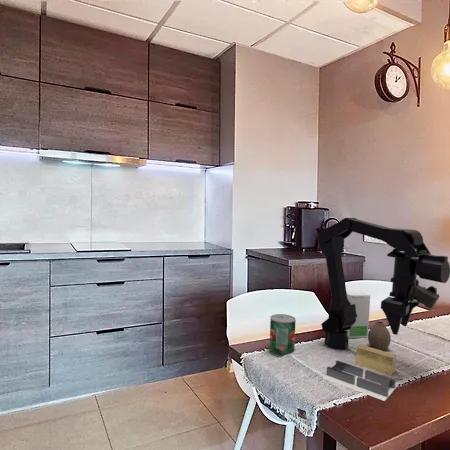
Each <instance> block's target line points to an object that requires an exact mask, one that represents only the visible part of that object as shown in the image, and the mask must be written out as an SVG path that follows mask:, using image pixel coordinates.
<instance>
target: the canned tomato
mask: <svg viewBox="0 0 450 450" xmlns="http://www.w3.org/2000/svg"><path fill="white" fill-rule="evenodd" d="M296 321H297V319H296V317H294V316H292V315H290V314H282V313H281V314H280V313H278V314H276V313H275V314H272V315H270V322H269V324H270V325H269V326H270V327H269V351H268V352H269V354H271V355H272V356H275V357H279V358H283V357H285V356H286V355H289V354H292V353H294V352H295V347H296V346H295V345H296V344H295V343H296Z"/></svg>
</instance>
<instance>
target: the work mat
mask: <svg viewBox="0 0 450 450" xmlns="http://www.w3.org/2000/svg"><path fill="white" fill-rule="evenodd" d="M343 372H344V371H343ZM345 373H347V372H345ZM348 374H350V373H348ZM351 375H353V374H351ZM354 376H355V384H354V385H352V384H350V383H347V382H344V381H341V380H339V379H336V378H333V377H330V376H328V375H326V374H325V375H323V376H322V377H321V378H322V379H324V380H327V381H330V382H332V383H335V384H337V385H340V386H343V387H345V388H347V389H351V390H353V391H357V392H360V393H361V394H365V395H367V396H370V397H372V398H376V399H378V400H380V401H384V402H386V400H387V399H388V398H389V396H390V395H391V394H392V393H393V392H394V390H396V389H397V387H398V386H399V385H400V384H399V383H396V384H395V388H390V389H389V390H388V396H387V397H385V396H383V395H380V394H377V393H374V392H372V391H369V390H366V389H363V388H361V387H358V386H357V378H358V377H359V376H356V375H354ZM360 378H363V379H365V372H363V377H360ZM366 380H367V379H366ZM369 381H370V380H369ZM371 382H373V381H371ZM374 383H376V382H374ZM377 384H379V383H377ZM380 385H381V384H380Z"/></svg>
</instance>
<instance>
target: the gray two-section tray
mask: <svg viewBox="0 0 450 450" xmlns="http://www.w3.org/2000/svg"><path fill="white" fill-rule="evenodd" d="M343 371H344V372H343ZM345 372H347V373H345ZM348 373H350V374H348ZM363 373H365V379H363V378H360V377H363ZM351 374H353V375H351ZM325 375H328V376H330V377H333V378H336V379H339V380H341V381H344V382H347V383H350V384H352V385H354V384H355V376H354V375H356V376H359V377H358V378H357V386H358V387H361V388H363V389H366V390H369V391H372V392H374V393H377V394H380V395H383V396H385V397H387V396H388V390H389V389H390V388H395V384H397V383H396V381H397V380H396V379H395V378H392V377H390V376H386V375H383V374H380V373H377V372H373V371H372V370H368V369H366V370H365V371H364V368H362V367H359V366H355V365H352V364H349V363H347V362H344V361H341V360H335V364H334V365H333V366H328V367H326V374H325ZM366 379H367V380H366ZM369 380H370V381H369ZM371 381H373V382H371ZM374 382H376V383H374ZM377 383H379V384H377ZM380 384H381V385H380ZM395 389H396V388H395Z"/></svg>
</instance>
